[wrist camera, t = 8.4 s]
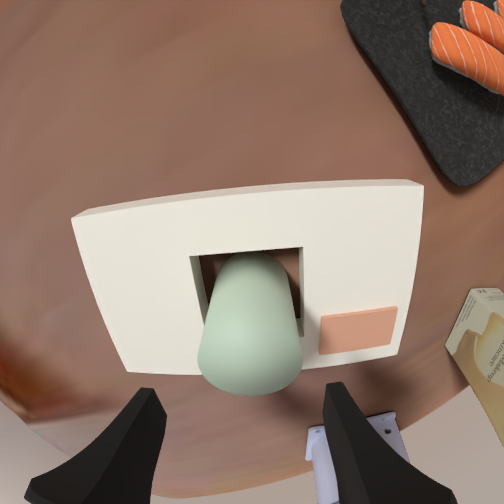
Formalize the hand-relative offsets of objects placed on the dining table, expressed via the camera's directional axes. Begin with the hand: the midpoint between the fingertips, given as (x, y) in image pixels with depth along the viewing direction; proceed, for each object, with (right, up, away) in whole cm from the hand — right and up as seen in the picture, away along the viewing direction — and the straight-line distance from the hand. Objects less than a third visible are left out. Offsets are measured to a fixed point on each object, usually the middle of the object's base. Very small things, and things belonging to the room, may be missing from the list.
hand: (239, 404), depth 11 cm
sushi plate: (+15, +29, -2) cm, 33 cm away
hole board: (0, +4, +7) cm, 8 cm away
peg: (0, +4, +7) cm, 8 cm away
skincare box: (+20, 0, +9) cm, 22 cm away
